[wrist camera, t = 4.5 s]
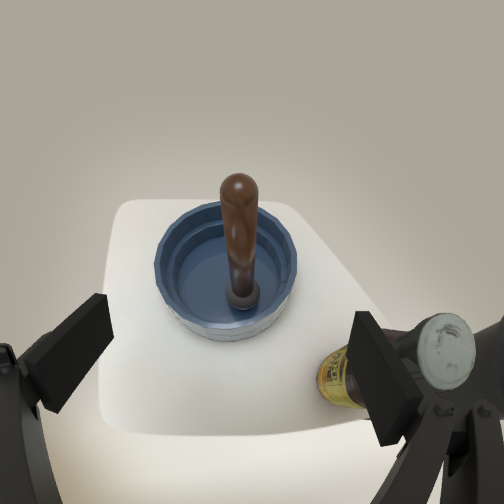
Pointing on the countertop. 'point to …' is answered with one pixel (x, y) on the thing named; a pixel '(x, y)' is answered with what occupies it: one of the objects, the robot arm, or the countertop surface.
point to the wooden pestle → (240, 238)
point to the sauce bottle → (414, 348)
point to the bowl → (222, 274)
